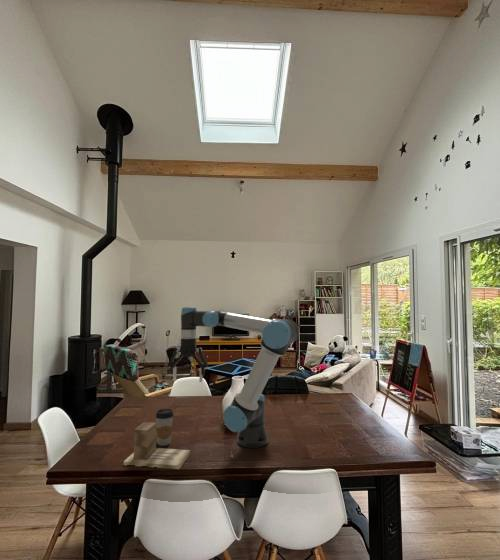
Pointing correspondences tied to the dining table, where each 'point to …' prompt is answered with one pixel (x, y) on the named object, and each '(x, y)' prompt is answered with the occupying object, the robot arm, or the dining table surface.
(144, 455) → the block
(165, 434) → the coffee cup
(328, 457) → the dining table surface
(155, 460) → the board
